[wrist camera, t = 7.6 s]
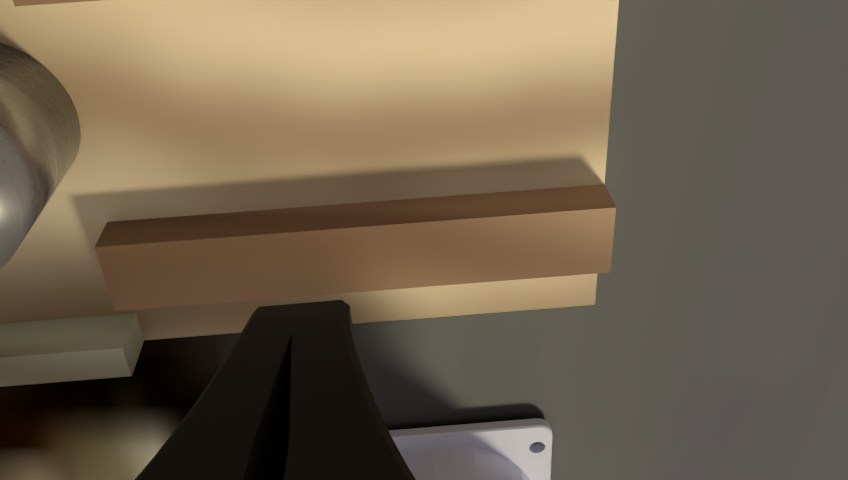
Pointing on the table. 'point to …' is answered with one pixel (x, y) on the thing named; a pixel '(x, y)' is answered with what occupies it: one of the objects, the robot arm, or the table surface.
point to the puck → (31, 143)
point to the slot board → (308, 167)
